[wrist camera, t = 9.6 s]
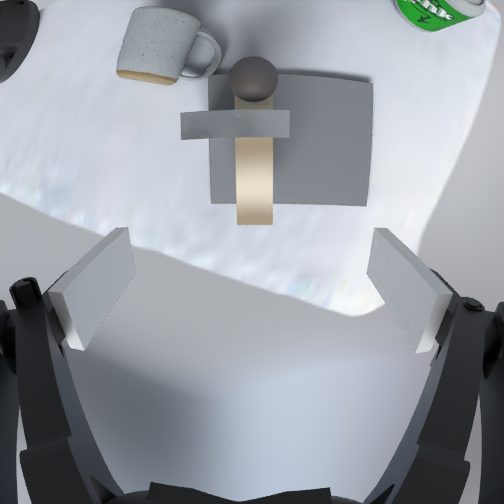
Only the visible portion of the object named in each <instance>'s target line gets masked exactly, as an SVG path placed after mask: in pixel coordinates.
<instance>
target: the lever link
mask: <svg viewBox="0 0 504 504" xmlns="http://www.w3.org/2000/svg"><path fill="white" fill-rule="evenodd" d="M229 85H230V88H231V90H232V91H233V93H234V94H235V110H273V93H274V91H275V89H276V87H277V85H278V74H277V71H276V69H275V67H274V66H273V65H272V64H271V63H270V62H269V61H267V60H265V59H263V58H260V57H247V58H244V59H242V60H240V61H238V62H237V63H236V64H235V65H234V66H233V67H232V69H231V70H230V73H229ZM235 154H236V198H237V225H272V222H273V138H272V137H236V138H235Z"/></svg>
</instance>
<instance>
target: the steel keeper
mask: <svg viewBox="0 0 504 504" xmlns="http://www.w3.org/2000/svg"><path fill="white" fill-rule="evenodd" d="M289 129H290V110H216V111H198V112H185V113H181V140H187V139H205V138H236V137H272V138H289Z"/></svg>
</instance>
